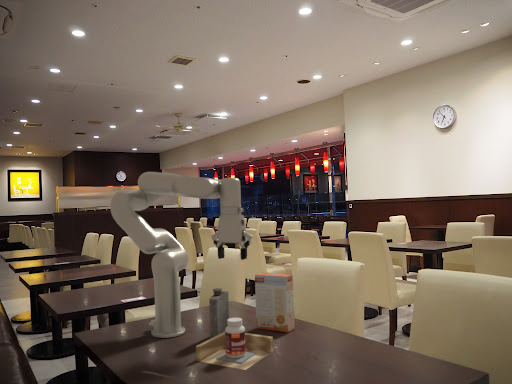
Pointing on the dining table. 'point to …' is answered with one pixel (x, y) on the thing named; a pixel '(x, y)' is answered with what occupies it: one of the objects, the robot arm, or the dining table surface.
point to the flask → (218, 312)
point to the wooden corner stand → (217, 347)
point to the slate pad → (237, 360)
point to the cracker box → (274, 302)
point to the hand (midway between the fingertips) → (232, 258)
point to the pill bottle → (235, 338)
